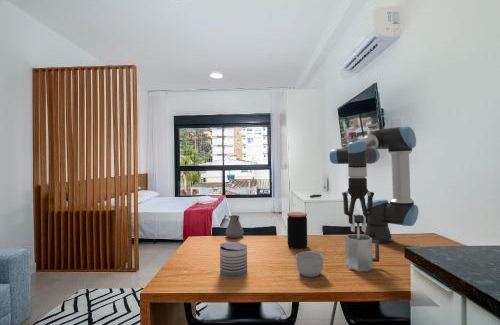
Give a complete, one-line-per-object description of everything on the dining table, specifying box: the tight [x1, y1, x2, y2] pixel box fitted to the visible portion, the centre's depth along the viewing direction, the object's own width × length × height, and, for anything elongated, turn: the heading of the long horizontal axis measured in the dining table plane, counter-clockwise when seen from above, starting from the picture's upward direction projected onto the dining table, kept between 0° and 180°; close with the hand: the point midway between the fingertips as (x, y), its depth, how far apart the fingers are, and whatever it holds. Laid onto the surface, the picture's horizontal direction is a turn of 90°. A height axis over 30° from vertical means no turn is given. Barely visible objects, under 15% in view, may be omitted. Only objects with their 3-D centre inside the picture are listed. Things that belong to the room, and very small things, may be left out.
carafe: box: [344, 233, 380, 273], centre depth 122 cm, size 14×10×13 cm
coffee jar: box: [286, 211, 308, 250], centre depth 153 cm, size 11×11×18 cm
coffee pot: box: [224, 214, 245, 239], centre depth 171 cm, size 21×12×15 cm, turn 12°
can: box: [219, 241, 248, 279], centre depth 117 cm, size 11×11×12 cm
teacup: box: [295, 250, 324, 278], centre depth 116 cm, size 14×11×8 cm
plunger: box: [353, 213, 364, 240], centre depth 122 cm, size 8×8×20 cm
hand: (358, 231), depth 122 cm, fingers closed on plunger, 4 cm apart
